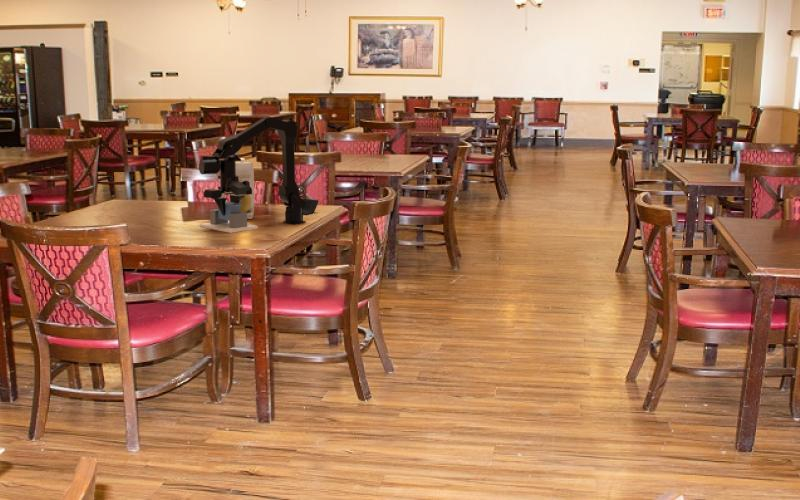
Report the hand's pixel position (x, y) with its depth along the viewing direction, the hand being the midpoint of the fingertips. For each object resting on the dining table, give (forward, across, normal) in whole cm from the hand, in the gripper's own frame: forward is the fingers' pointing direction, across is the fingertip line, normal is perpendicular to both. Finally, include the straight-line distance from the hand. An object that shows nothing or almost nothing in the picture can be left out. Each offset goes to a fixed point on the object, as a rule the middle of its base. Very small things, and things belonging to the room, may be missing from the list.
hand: (228, 214), depth 330 cm
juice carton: (+5, +18, +14) cm, 23 cm away
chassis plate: (+5, 0, 0) cm, 5 cm away
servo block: (+2, 0, 0) cm, 2 cm away
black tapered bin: (+5, +45, +8) cm, 46 cm away
